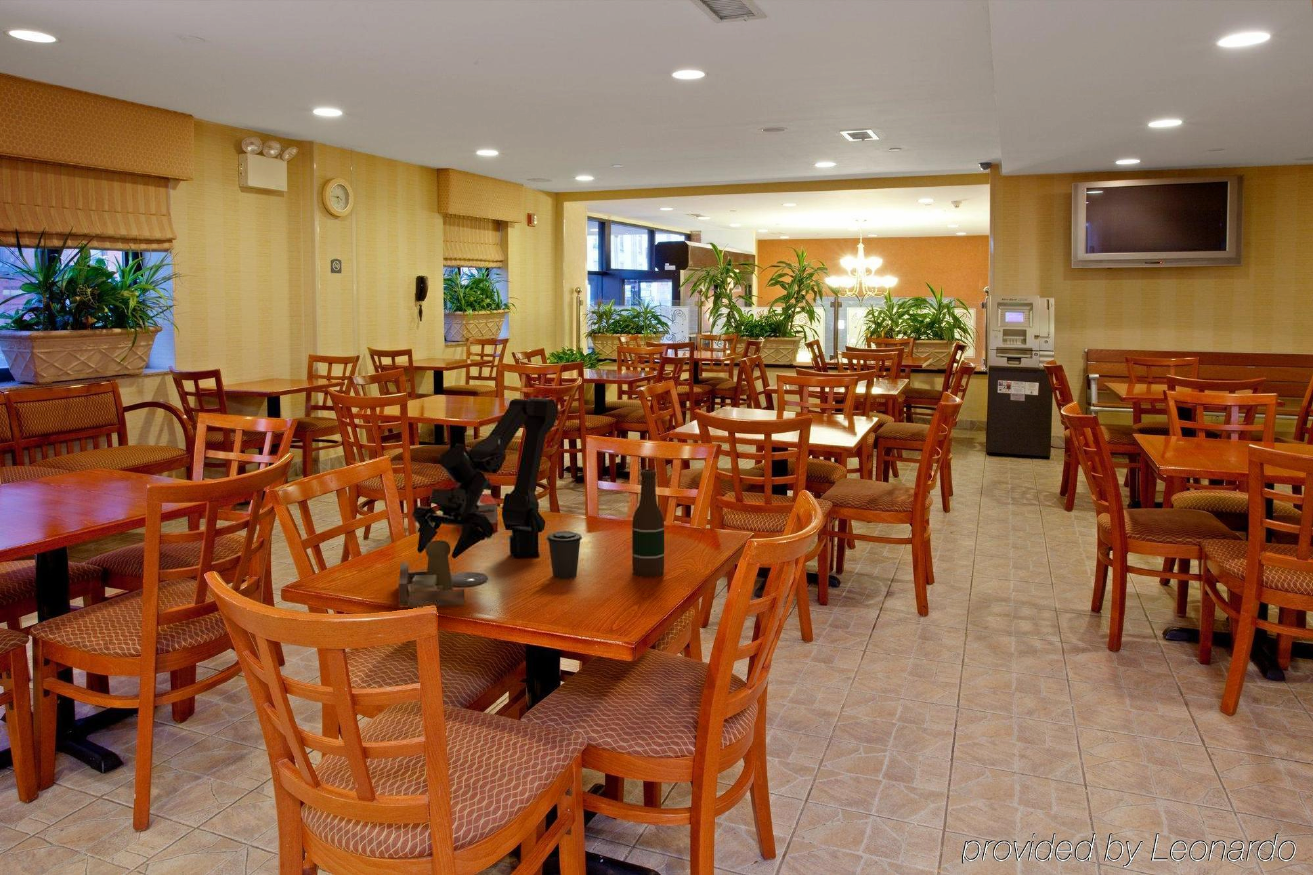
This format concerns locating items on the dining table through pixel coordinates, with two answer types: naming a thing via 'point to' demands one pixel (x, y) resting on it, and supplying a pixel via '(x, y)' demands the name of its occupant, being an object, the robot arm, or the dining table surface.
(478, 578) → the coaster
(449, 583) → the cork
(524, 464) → the robot arm
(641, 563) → the beer bottle
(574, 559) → the coffee cup
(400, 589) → the rack
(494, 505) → the medicine box
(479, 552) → the dining table surface
